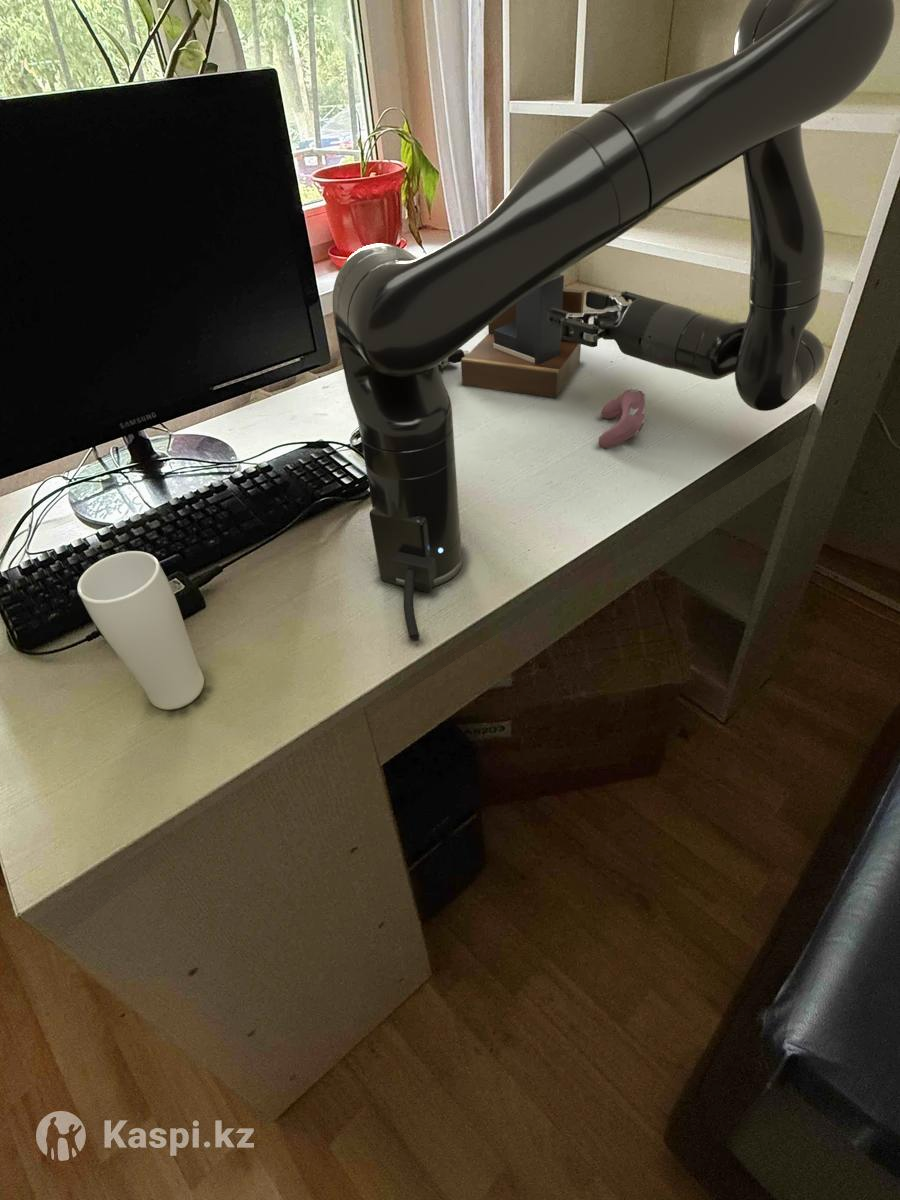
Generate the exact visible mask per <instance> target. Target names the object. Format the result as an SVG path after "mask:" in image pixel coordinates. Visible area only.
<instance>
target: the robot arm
mask: <svg viewBox="0 0 900 1200" xmlns="http://www.w3.org/2000/svg"><path fill="white" fill-rule="evenodd" d="M895 15H896V12H895V1H894V0H749V1H748V3H747V5H746V6H745V8H744V10H743V12H742V14H741V16H740V19H739V21H738V24H737V26H736V31H735V34H734V40H733V47H732V56H730V57H728V58H727V59H724V60H722V61H719V62H717V63H716V64H713V65H711V66H707V67H704V68H702V69H699V70H696V71H693V72H690V73H687V74H684V75H681V76H677V77H675V78H671V79H669V80H666V81H663V82H661V83H657V84H655V85H652V86H650V87H647V88H644V89H641V90H639V91H636V92H633V93H632V94H629V95H627V96H625V97H623V98H621V99H619V100H617V101H615V102H613V103H611V104H609V105H608V106H606V107H604V108H602V109H600V110H599V111H597V112H596V113H593V115H591V116H589V117H588V118H586V119H585V120H584V121H582V122H579V124H577V125H576V126H574V127H573V128H571V129H570V130H568V131H567V132H565V133H563V134H562V135H561V136H559V137H558V138H557V139H555V140H554V141H553V142H551V143H550V144H549V145H547V146H546V147H545V148H544V149H543V150H542V151H541V152H540V153H539V154H538V155H537V156H536V157H535V158H534V159H533V160H532V162H531V163H530V164H529V165H528V166H527V168H526V169H525V170H524V171H523V173H522V174H521V175H520V177H519V178H518V179H517V181H516V182H515V184H514V185H513V186H512V188H511V189H510V191H509V192H508V193H507V195H506V196H505V197H504V199H503V200H502V201H501V202H500V203H499V204H498V205H497V206H496V208H495V209H494V210H493V211H492V212H491V213H490V214H489V215H488V216H486V218H484V219H483V220H482V221H481V222H480V223H478V224H477V225H475V226H474V227H472V228H471V229H469V230H468V231H466V232H465V233H462V234H461V235H460V236H457V237H456V238H454V239H453V240H451V241H450V242H447V243H446V244H444V245H443V246H441V247H439V248H438V249H435V250H434V251H432V252H430V253H428V254H425V255H423V256H421V257H419V258H417V257H416V256H415V255H413V254H412V253H411V252H409V251H408V250H405V249H404V248H402V247H401V246H397V245H394V244H391V243H390V244H389V243H373V244H370V245H366V246H363V247H362V248H359V249H357V251H354V253H352V254H351V255H350V256H349V257H348V258H347V259H346V260H345V261H344V263H343V264H342V266H341V268H340V269H339V271H338V273H337V275H336V278H335V281H334V285H333V290H332V313H333V321H334V326H335V332H336V337H337V343H338V349H339V352H340V358H341V363H342V367H343V373H344V378H345V383H346V388H347V392H348V396H349V400H350V402H351V406H352V408H353V411H354V413H355V417H356V420H357V421H356V422H357V425H358V432H359V434H360V435H359V436H360V442H361V448H362V454H363V459H364V465H365V471H366V472H365V473H366V477H367V483H368V489H369V494H370V501H371V507H372V508H371V510H370V511H369V520H370V526H371V532H372V538H373V542H374V548H375V555H376V560H377V561H376V562H377V565H378V572H379V577H380V581H383V582H385V583H389V584H393V585H397V586H400V587H403V613H404V619H405V620H404V621H405V624H406V628H407V633H408V637H409V639H410V640H412V641H417V640H419V638H420V633H419V629H418V625H417V620H416V615H415V607H414V591H415V590H416V591H421V592H425V593H430V592H431V591H432V590H433V588H434V587H436V586H439V585H442V584H445V583H446V582H448V581H449V580H451V579H452V578H454V577H455V576H456V575H457V574H458V573H459V572H460V570H461V568H462V566H463V563H464V558H463V557H464V555H463V548H462V539H461V538H462V537H461V527H460V511H459V496H458V494H459V493H458V482H457V481H458V480H457V479H458V478H457V465H456V451H455V450H456V449H455V433H454V419H453V407H452V401H451V397H450V395H449V392H448V390H447V388H446V386H445V385H446V384H445V383H444V380H443V377H442V374H440V371H439V368H438V364H440V363H441V362H442V361H444V360H445V359H447V358H448V357H449V356H450V355H452V354H453V353H454V352H456V351H457V350H459V349H461V348H463V346H464V345H466V344H467V343H468V342H469V341H471V340H472V339H473V338H474V337H475V336H476V335H478V334H479V333H480V332H481V331H482V330H484V329H486V327H488V325H489V324H490V323H491V322H492V321H494V320H495V319H496V318H497V317H498V316H500V315H501V314H502V313H504V312H505V311H506V310H507V309H509V308H510V307H511V306H513V305H514V304H515V303H517V302H518V301H519V300H521V299H522V298H524V297H525V296H527V295H528V294H530V293H531V292H533V291H534V290H536V289H538V288H539V287H541V286H542V285H544V284H546V283H547V282H549V281H550V280H552V279H553V278H555V277H556V276H558V275H559V274H560V275H562V273H564V272H565V271H567V270H569V268H571V267H573V266H574V265H576V264H577V263H578V262H580V261H582V260H583V259H585V258H586V257H588V256H589V255H591V254H592V253H594V252H596V251H597V250H599V249H601V248H603V247H604V246H607V245H608V244H610V243H611V242H614V240H616V239H618V238H619V237H621V236H622V235H624V234H625V233H627V232H629V231H630V230H631V229H633V228H634V227H636V226H638V225H639V224H641V223H642V222H644V221H645V220H646V219H648V218H649V217H651V216H652V215H654V214H655V213H656V212H657V211H659V210H660V209H662V208H663V207H665V206H666V205H668V204H670V203H671V202H672V201H674V200H676V199H677V198H678V197H680V196H681V195H684V194H685V193H687V192H689V191H690V190H691V189H693V188H695V187H696V186H697V185H699V184H701V183H702V182H704V181H705V180H707V179H708V178H710V177H711V176H713V175H715V174H716V173H718V172H719V171H721V170H722V169H723V168H725V167H726V166H728V165H729V164H731V163H733V162H734V161H735V160H737V159H738V158H740V157H742V162H743V169H744V176H745V177H744V178H745V184H746V192H747V202H748V211H749V225H750V226H749V227H750V228H749V229H750V264H749V266H750V268H749V295H748V296H749V300H748V301H749V303H748V304H749V306H748V307H749V308H748V309H749V310H748V316H747V318H746V321H743V322H735V321H728V320H725V319H722V318H718V317H715V316H710V315H707V314H703V313H700V312H697V311H696V310H693V309H691V308H688V307H685V306H681V305H679V304H678V305H677V304H674V303H670V302H666V301H662V300H659V299H655V298H651V297H647V296H643V295H640V294H638V293H633V292H630V291H627V290H625V291H621V292H620V295H619V294H617V293H611V294H606V293H603V292H599V291H595V290H589V291H587V292H586V295H585V306H586V307H587V309H585V310H583V313H570V312H567V311H564V310H561V309H557V308H554V307H551V308H549V309H548V310H547V323H548V324H550V325H553V326H556V327H559V328H561V333H560V338H562V339H565V340H569V341H572V342H575V343H579V344H581V345H583V346H586V347H590V348H596V347H598V342H599V340H600V339H603V340H607V341H608V340H611V341H613V340H614V341H615V343H616V344H617V347H618V349H619V350H620V352H621V353H622V354H624V355H625V356H629V357H632V358H635V359H638V360H641V361H644V362H648V363H650V364H653V365H657V366H659V367H663V368H667V369H673V370H677V371H682V372H684V373H687V374H690V375H694V376H697V377H700V378H703V379H707V380H713V381H714V380H717V381H718V380H721V379H723V378H726V377H728V376H729V375H731V374H734V381H735V387H736V390H737V393H738V395H739V397H740V399H741V400H742V401H743V402H744V404H746V405H747V406H748V407H750V408H751V409H753V410H756V411H760V412H767V411H768V412H769V411H773V410H776V409H778V408H781V407H782V406H784V405H785V404H787V403H788V402H789V401H790V400H792V399H793V398H794V396H795V395H796V394H797V393H798V392H799V391H801V390H802V388H804V387H805V386H806V385H807V384H808V383H809V382H810V381H811V380H812V379H813V378H814V377H815V376H816V375H817V374H818V373H819V372H820V369H822V367H823V364H824V362H825V356H826V353H825V347H824V344H823V343H822V341H821V340H820V338H819V337H818V336H817V335H816V334H815V333H813V332H812V331H811V330H808V329H807V328H806V327H807V325H808V324H809V322H810V321H811V320H812V319H813V317H814V316H815V313H816V311H817V310H818V307H819V303H820V297H821V288H822V280H823V271H824V270H823V269H824V262H825V250H826V249H825V247H826V245H825V242H826V241H825V232H824V231H825V230H824V225H823V218H822V213H821V211H820V207H819V204H818V201H817V197H816V195H815V192H814V189H813V188H814V187H813V186H812V181H811V179H810V175H809V171H808V167H807V164H806V158H805V153H804V152H805V151H804V147H803V146H804V145H803V137H802V136H803V135H802V124H804V123H806V122H808V121H810V120H812V119H814V118H816V117H818V116H820V115H822V114H824V113H826V112H827V111H830V110H831V109H834V108H835V107H836V106H838V105H839V104H841V103H842V102H843V101H845V100H846V99H847V98H848V97H850V96H851V95H853V93H854V92H855V91H856V90H857V89H858V88H860V86H861V85H862V84H863V83H864V82H865V81H866V80H867V78H868V77H869V76H870V75H871V73H872V72H873V70H874V69H875V68H876V66H877V64H878V63H879V61H880V60H881V58H882V56H883V55H884V53H885V50H886V48H887V46H888V44H889V41H890V39H891V35H892V32H893V29H894V23H895ZM630 301H631V303H630ZM588 308H589V309H588ZM592 317H593V321H592V322H591V323H590V319H591V318H592ZM576 320H582V322H580V321H576Z"/></svg>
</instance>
